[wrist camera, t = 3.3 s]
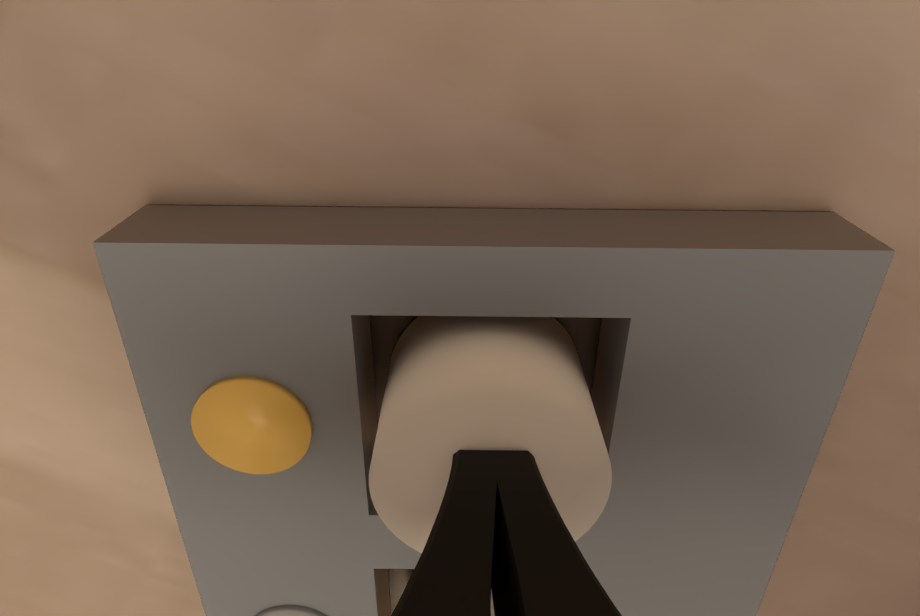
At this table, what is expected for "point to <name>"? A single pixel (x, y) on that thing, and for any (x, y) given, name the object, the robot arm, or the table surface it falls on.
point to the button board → (493, 295)
